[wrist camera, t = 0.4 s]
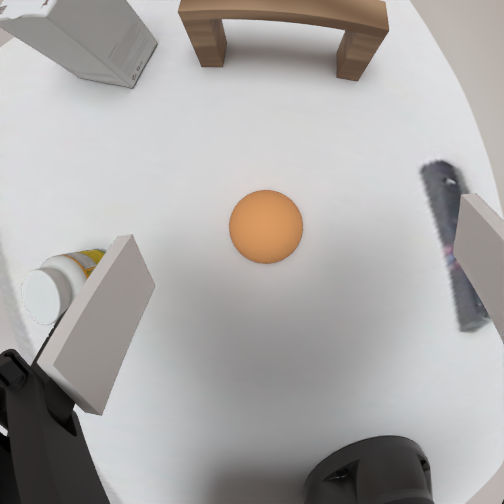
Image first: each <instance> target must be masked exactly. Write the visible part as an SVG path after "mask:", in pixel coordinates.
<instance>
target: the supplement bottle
mask: <svg viewBox="0 0 504 504" xmlns="http://www.w3.org/2000/svg"><path fill="white" fill-rule="evenodd" d="M106 252H107V251H105V250H101V249H93V250H86V251H80V252H75V253H68V254H62V255H57V256H53V257H51V258H49V259H47V260H46V261H45V262H44V263H43V264H42V265H41V267H40V268H39V269H35V270H32V271H30V272H29V273H28V274H27V275H26V276H25V278H24V280H23V283H22V289H21V294H22V300H23V304H24V307H25V309H26V311H27V313H28V314H29V316H30V317H31V318H32V319H33V320H34V321H36V322H37V323H39V324H42V325H50V324H52V323H55V322H57V320H58V318H59V317H60V315H61V314H62V313H63V312H64V311H65V310H66V309H68V308H69V307H70V305H71V304H72V302H73V300H74V299H75V297H76V296H77V294H78V293H79V291H80V290H81V288H82V287H83V285H84V284H85V282H86V281H87V279H88V278H89V276H90V275H91V273H92V272H93V270H94V269H95V267H96V266H97V265H98V263H99V262H100V260H101V259H102V257H103V256H104V255H105V253H106Z"/></svg>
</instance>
